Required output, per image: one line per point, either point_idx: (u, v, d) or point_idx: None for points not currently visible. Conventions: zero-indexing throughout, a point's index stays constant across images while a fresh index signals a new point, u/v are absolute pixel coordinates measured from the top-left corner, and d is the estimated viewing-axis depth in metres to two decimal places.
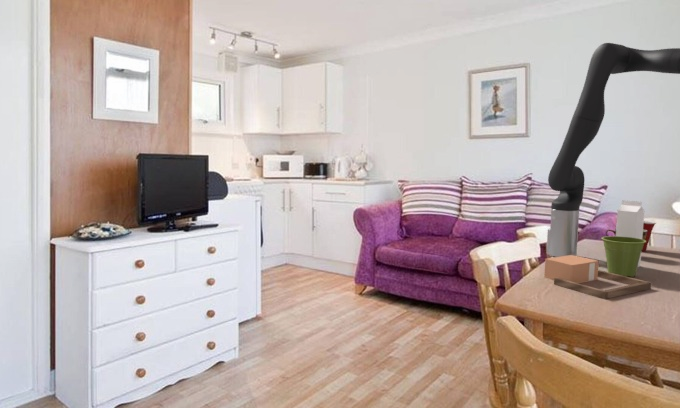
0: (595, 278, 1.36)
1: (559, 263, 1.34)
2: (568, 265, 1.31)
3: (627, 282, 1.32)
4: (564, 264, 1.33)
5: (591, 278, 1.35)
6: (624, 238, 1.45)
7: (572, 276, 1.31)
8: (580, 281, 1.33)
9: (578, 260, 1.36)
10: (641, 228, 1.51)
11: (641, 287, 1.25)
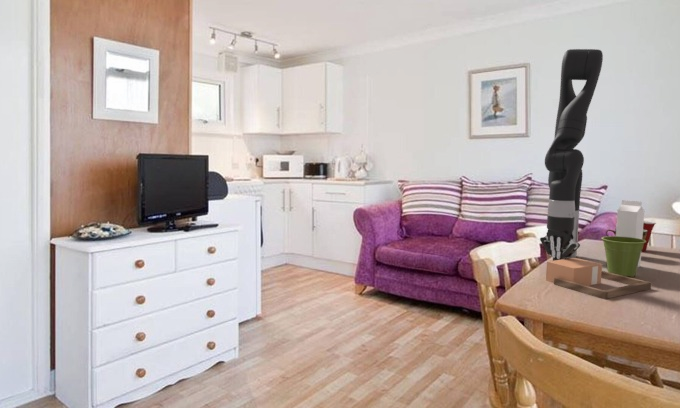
0: (598, 282, 1.32)
1: (561, 266, 1.30)
2: (570, 268, 1.28)
3: (627, 282, 1.32)
4: (566, 267, 1.29)
5: (595, 282, 1.31)
6: (624, 238, 1.45)
7: (574, 279, 1.27)
8: None
9: (581, 263, 1.32)
10: (641, 228, 1.51)
11: (641, 287, 1.25)
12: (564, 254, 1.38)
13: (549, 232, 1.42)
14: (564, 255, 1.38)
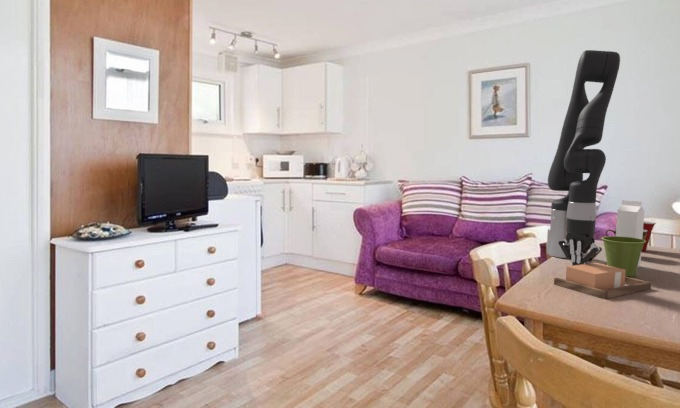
0: None
1: (581, 271, 1.25)
2: (591, 274, 1.22)
3: (627, 282, 1.32)
4: (587, 273, 1.23)
5: None
6: (624, 238, 1.45)
7: (595, 286, 1.22)
8: None
9: (603, 268, 1.27)
10: (641, 228, 1.51)
11: (641, 287, 1.25)
12: (585, 258, 1.32)
13: (568, 235, 1.36)
14: (585, 259, 1.32)
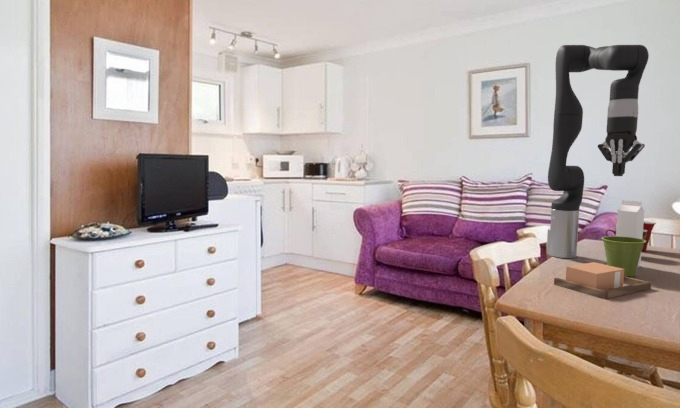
0: None
1: (582, 271, 1.24)
2: (592, 274, 1.22)
3: (627, 282, 1.32)
4: (588, 272, 1.23)
5: (617, 287, 1.25)
6: (624, 238, 1.45)
7: (597, 285, 1.21)
8: None
9: (602, 268, 1.27)
10: (641, 228, 1.51)
11: (641, 287, 1.25)
12: (627, 156, 1.30)
13: (609, 137, 1.34)
14: (627, 158, 1.30)
